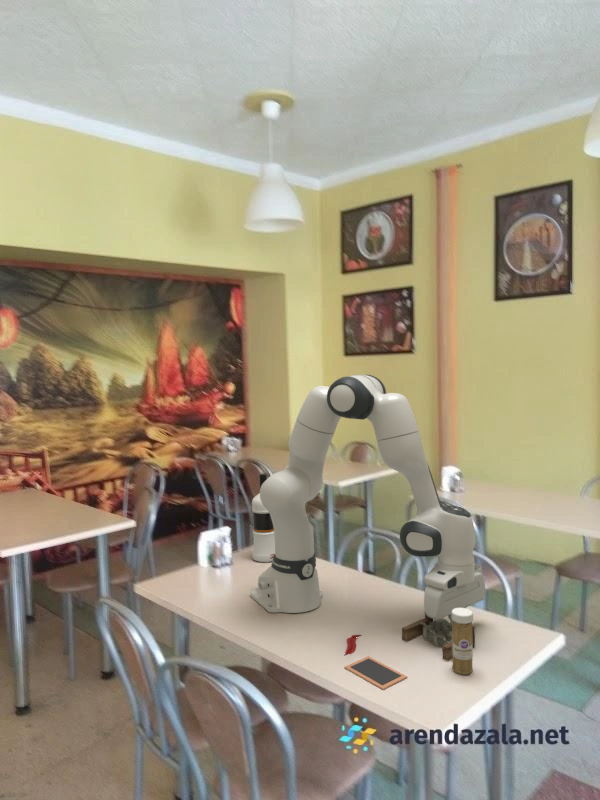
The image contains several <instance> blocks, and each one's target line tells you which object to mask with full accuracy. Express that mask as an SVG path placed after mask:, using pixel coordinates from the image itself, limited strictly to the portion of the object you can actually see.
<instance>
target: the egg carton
mask: <svg viewBox="0 0 600 800" xmlns="http://www.w3.org/2000/svg"><path fill="white" fill-rule="evenodd" d="M420 624H422V625H424V626H423V635H422V637H423V640H424V641H431V642H433V644H434V645H435V646H443V645H445V644H447V643H449V642H452V624H450V621H448V620H447V619H445V618H442V619H439V620H435V619H433V622H432V623H431V622H429V625H428V626H427V625H426V624H425V623H422V622H420Z"/></svg>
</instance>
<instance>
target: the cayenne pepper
mask: <svg viewBox="0 0 600 800" xmlns="http://www.w3.org/2000/svg"><path fill="white" fill-rule="evenodd" d="M361 636H362V634H354V635H351V636H350V637H348V638H347V639H346V642H347V646H346V650H345V652H344V653H345V654H344V656H347V655H352V654H353V653H354V652H356V649H357V642H356V641H357V640H358V637H361ZM356 637H357V638H356Z"/></svg>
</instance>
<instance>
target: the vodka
mask: <svg viewBox="0 0 600 800" xmlns="http://www.w3.org/2000/svg"><path fill="white" fill-rule="evenodd" d="M267 479H268V476H267V474H266V473H260V474H259V489H260V488H261V486H262V484H263V483H264V482H265V481H266V480H267ZM251 507H252V508H251V510H252V527H253V529H252V534H253V547H252V554H251V557H252V559H253V560H254V561H255V562H257V561H258V563H272V562H271V561H273V558H271V559H270V557H272V556H274V555H272V554H275V538H274V527H273V522H272V519H271V516H270V513H269V511H268V510H267V509H266V508H265V507H264V505H263V504H262V502H261V499H260V492H259V493H257V494H256V495H255V496H254V497H253V498H252V500H251ZM270 555H272V556H270Z"/></svg>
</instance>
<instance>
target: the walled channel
mask: <svg viewBox="0 0 600 800" xmlns="http://www.w3.org/2000/svg"><path fill="white" fill-rule="evenodd" d="M433 621H434V619H432V618H430V617H428V616H427V615H426V613H425V612H424V618H422V619H419V620H417V621H414V622H411V623H409V624H407V625H405V626H402V627H401V639H402V641H404V642H408V641H412V640H414V639H416V638H418V637H421V636H423V626H424V625H422V624H420V622H422V623H425V624H426V625H427V626H428V625H429V622H431V623H432V622H433ZM475 628H476V627H475V626H474V625H472V634H473V649H474V648H475V647H476V645H475V644H476V642H475V641H476V639H475V638H476V635H475V633H476V631H475V630H476V629H475ZM442 659H443V660H445V661H447V662H448V661H451V660H453V655H452V642H449V643H447V644H445V645H442Z"/></svg>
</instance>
